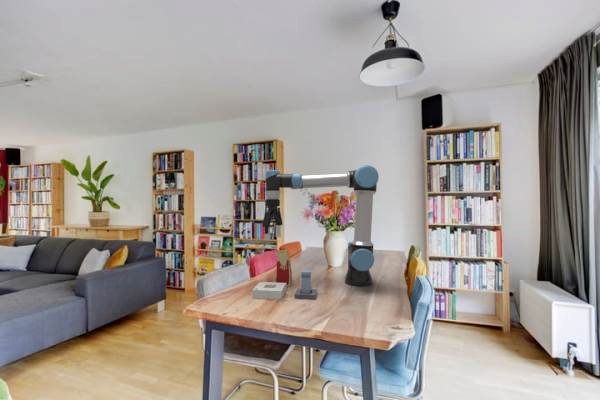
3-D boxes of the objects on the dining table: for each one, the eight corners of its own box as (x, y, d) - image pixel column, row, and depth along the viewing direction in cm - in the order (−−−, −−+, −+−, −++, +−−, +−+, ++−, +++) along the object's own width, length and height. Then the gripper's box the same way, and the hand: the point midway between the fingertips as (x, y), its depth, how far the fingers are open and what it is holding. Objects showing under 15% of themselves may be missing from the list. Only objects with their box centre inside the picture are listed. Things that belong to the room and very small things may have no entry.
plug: (310, 294, 145) (310, 270, 145) (310, 297, 141) (310, 272, 141) (302, 294, 146) (302, 270, 146) (301, 297, 141) (301, 272, 142)
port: (286, 290, 152) (286, 282, 152) (281, 299, 138) (281, 290, 138) (260, 289, 153) (260, 281, 153) (252, 298, 139) (252, 289, 139)
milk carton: (292, 282, 168) (292, 247, 168) (290, 286, 159) (290, 249, 159) (276, 281, 169) (276, 246, 169) (273, 286, 160) (273, 249, 160)
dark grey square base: (317, 293, 148) (317, 289, 148) (315, 299, 138) (315, 295, 138) (297, 292, 149) (297, 288, 149) (294, 298, 139) (294, 294, 139)
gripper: (276, 199, 171) (276, 235, 171) (255, 198, 147) (255, 241, 147) (288, 199, 168) (288, 236, 168) (268, 198, 145) (269, 241, 145)
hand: (273, 238), depth 158 cm, fingers open, 13 cm apart
